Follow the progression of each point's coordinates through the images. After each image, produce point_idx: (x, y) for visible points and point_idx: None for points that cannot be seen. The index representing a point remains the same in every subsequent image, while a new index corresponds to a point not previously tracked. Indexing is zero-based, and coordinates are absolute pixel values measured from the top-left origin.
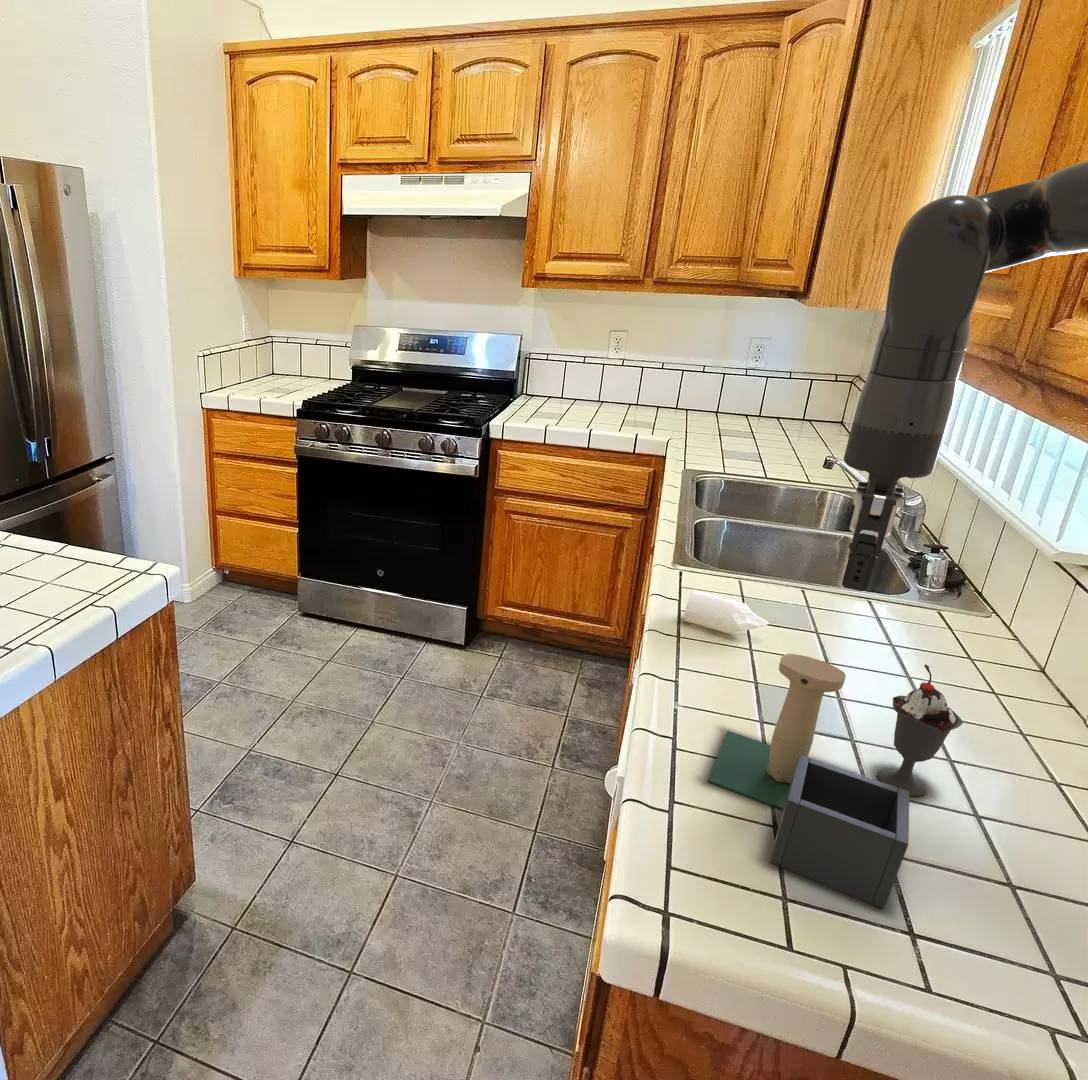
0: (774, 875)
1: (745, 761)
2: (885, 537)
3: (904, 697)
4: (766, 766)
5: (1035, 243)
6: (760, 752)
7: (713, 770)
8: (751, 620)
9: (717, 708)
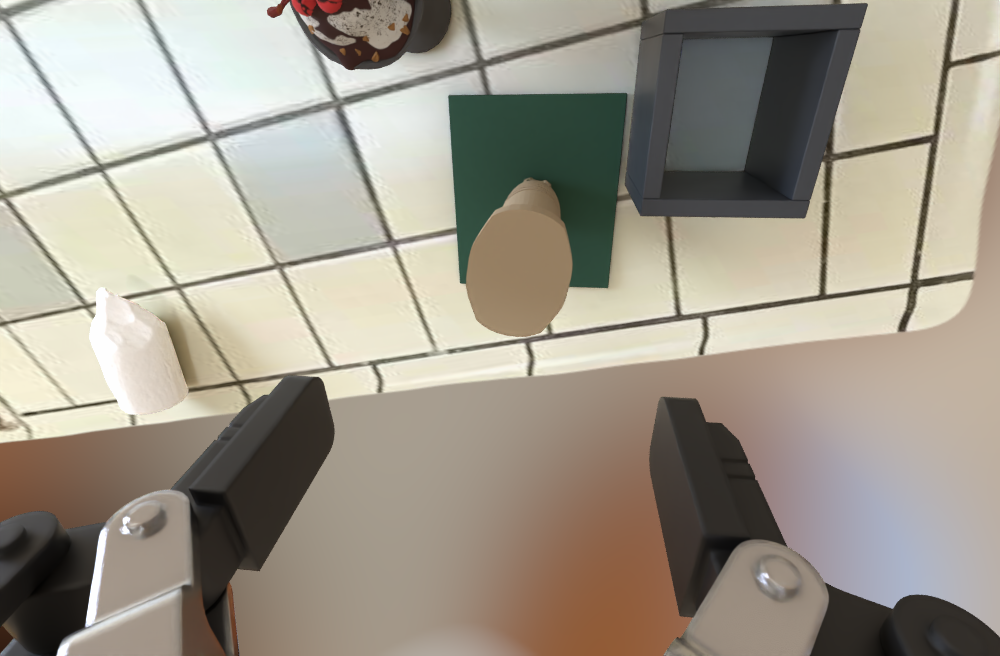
0: None
1: None
2: (680, 639)
3: (326, 44)
4: None
5: None
6: None
7: (579, 285)
8: (123, 315)
9: (402, 303)
